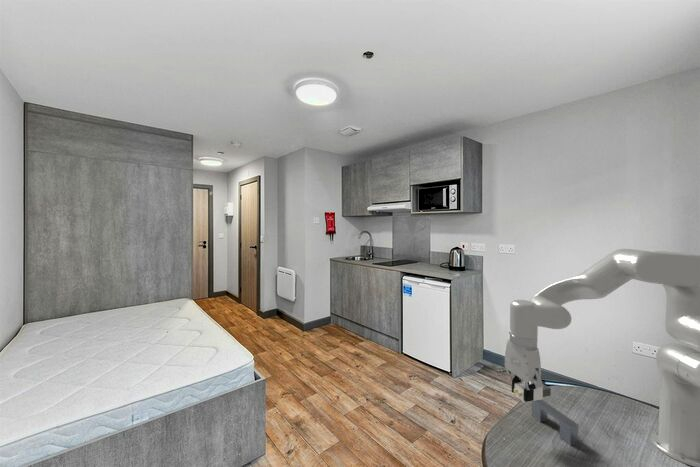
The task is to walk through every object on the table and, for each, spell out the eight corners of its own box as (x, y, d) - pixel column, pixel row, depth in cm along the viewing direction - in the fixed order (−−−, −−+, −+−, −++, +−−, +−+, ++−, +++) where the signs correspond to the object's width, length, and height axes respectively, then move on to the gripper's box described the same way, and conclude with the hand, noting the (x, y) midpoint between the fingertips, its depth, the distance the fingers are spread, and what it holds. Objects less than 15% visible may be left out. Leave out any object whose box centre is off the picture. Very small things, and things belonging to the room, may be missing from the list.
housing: (538, 413, 102) (538, 397, 101) (578, 443, 88) (578, 424, 88) (531, 415, 101) (531, 398, 101) (570, 445, 87) (570, 426, 87)
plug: (541, 389, 95) (541, 378, 95) (552, 397, 91) (552, 384, 91) (511, 395, 93) (511, 383, 92) (521, 403, 89) (521, 390, 88)
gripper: (494, 331, 98) (493, 383, 98) (536, 353, 81) (535, 415, 82) (512, 329, 99) (511, 380, 100) (557, 350, 83) (556, 411, 84)
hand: (522, 395), depth 91 cm, fingers closed on plug, 4 cm apart
